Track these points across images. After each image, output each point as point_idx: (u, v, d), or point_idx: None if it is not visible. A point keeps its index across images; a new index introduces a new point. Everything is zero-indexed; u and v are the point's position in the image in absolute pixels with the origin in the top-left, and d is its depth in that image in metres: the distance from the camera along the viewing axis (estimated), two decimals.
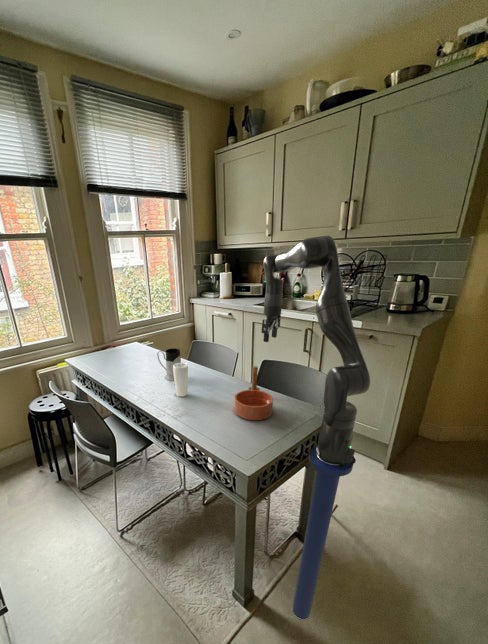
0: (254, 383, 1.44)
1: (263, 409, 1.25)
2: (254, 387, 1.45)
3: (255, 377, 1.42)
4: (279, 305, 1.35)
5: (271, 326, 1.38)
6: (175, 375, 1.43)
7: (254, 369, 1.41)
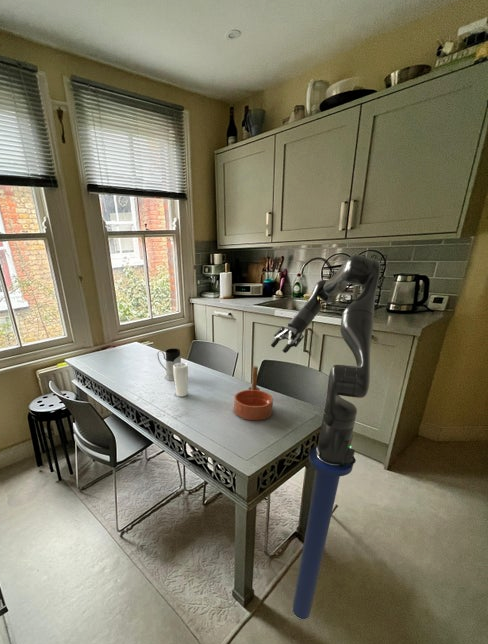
0: (254, 383, 1.44)
1: (263, 409, 1.25)
2: (254, 387, 1.45)
3: (255, 377, 1.42)
4: None
5: None
6: (175, 375, 1.43)
7: (254, 369, 1.41)
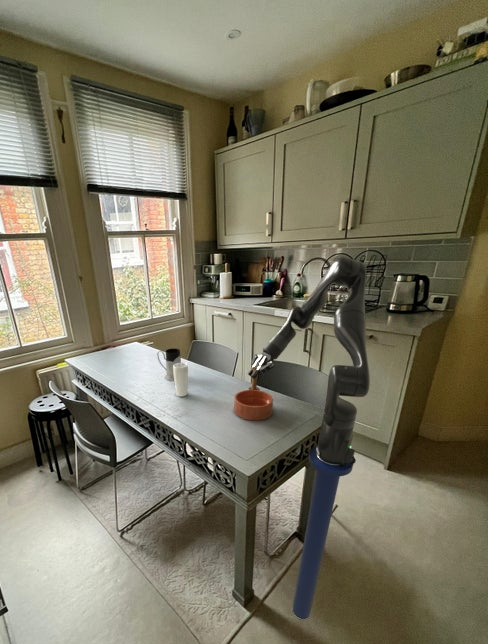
0: (254, 383, 1.44)
1: (263, 409, 1.25)
2: (254, 387, 1.45)
3: None
4: None
5: None
6: (175, 375, 1.43)
7: (254, 369, 1.41)
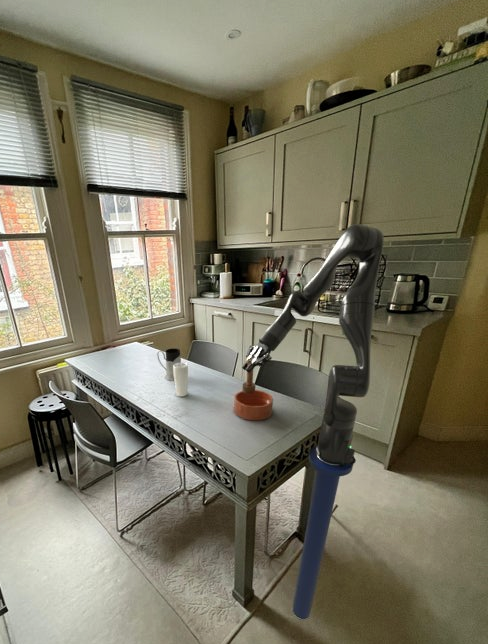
0: (249, 378, 1.28)
1: (263, 409, 1.25)
2: (249, 382, 1.28)
3: None
4: None
5: None
6: (175, 375, 1.43)
7: (249, 362, 1.25)
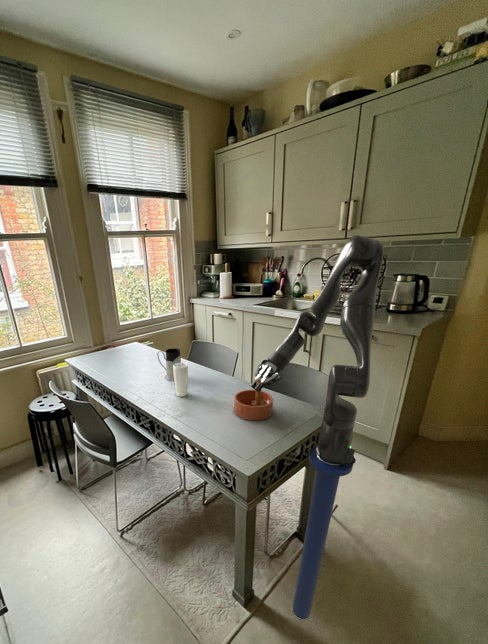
0: (258, 396, 1.29)
1: (263, 409, 1.25)
2: (258, 401, 1.30)
3: None
4: None
5: None
6: (175, 375, 1.43)
7: (258, 381, 1.27)
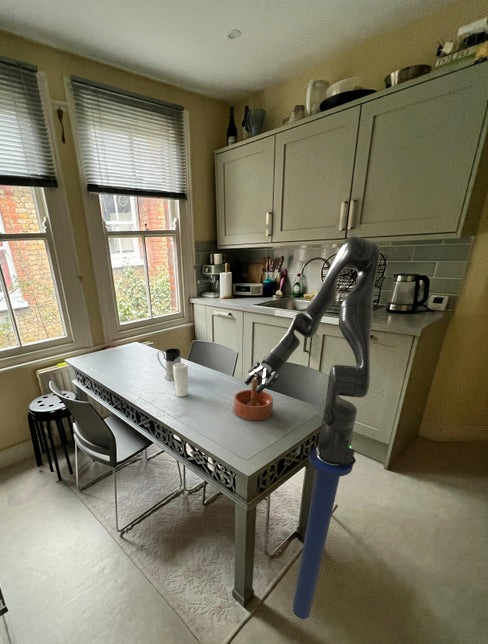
0: (253, 398, 1.30)
1: (263, 409, 1.25)
2: (253, 402, 1.31)
3: (254, 391, 1.28)
4: None
5: None
6: (175, 375, 1.43)
7: (253, 382, 1.27)
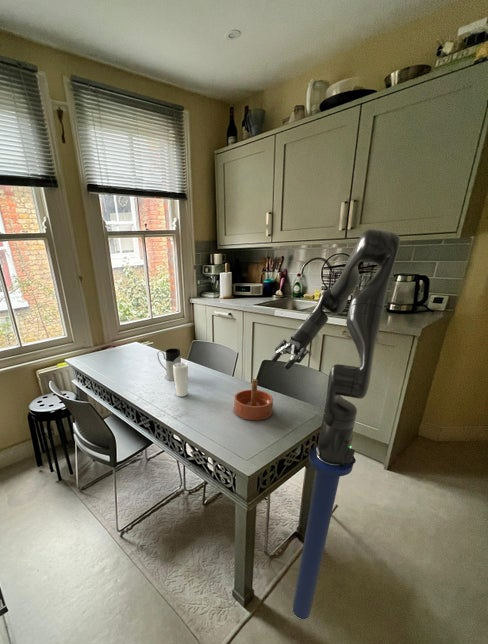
0: (253, 398, 1.30)
1: (263, 409, 1.25)
2: (253, 402, 1.31)
3: (254, 391, 1.28)
4: None
5: None
6: (175, 375, 1.43)
7: (253, 382, 1.27)
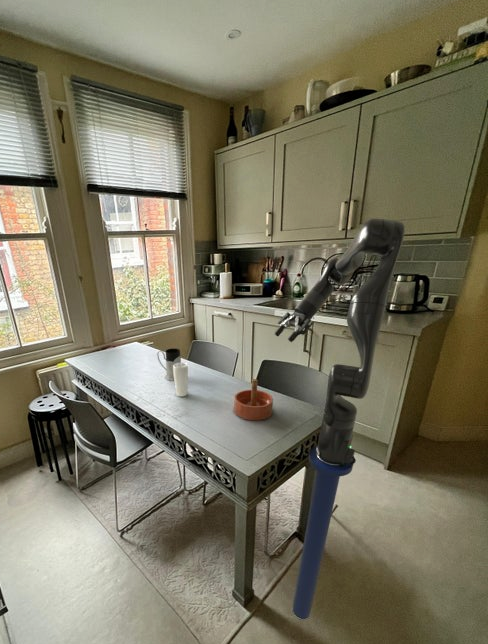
0: (253, 398, 1.30)
1: (263, 409, 1.25)
2: (253, 402, 1.31)
3: (254, 391, 1.28)
4: None
5: None
6: (175, 375, 1.43)
7: (253, 382, 1.27)
